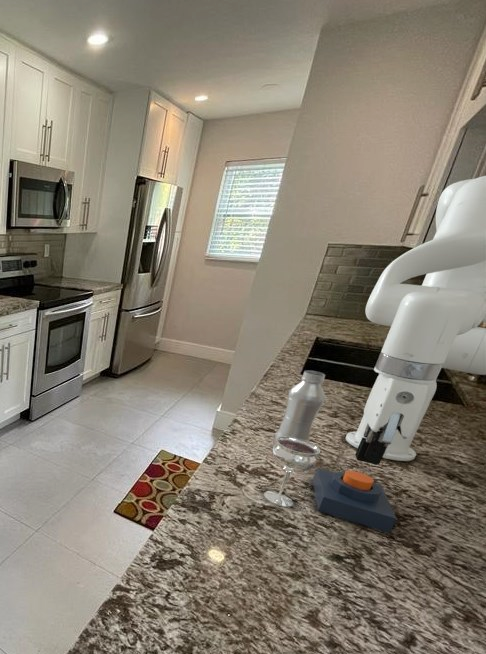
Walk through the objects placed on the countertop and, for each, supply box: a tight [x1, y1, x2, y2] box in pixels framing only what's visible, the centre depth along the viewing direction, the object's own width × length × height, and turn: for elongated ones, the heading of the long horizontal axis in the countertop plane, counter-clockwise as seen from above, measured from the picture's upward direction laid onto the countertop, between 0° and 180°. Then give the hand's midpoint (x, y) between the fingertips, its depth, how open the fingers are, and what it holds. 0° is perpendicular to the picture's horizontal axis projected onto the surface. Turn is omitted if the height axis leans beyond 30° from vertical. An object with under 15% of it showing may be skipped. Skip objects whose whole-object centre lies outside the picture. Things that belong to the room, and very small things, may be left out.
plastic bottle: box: [272, 369, 326, 446], centre depth 93 cm, size 6×7×20 cm
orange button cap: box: [343, 470, 375, 490], centre depth 77 cm, size 4×4×2 cm
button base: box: [312, 467, 397, 534], centre depth 78 cm, size 12×10×5 cm
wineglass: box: [263, 436, 321, 507], centre depth 77 cm, size 7×7×12 cm
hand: (366, 460), depth 76 cm, fingers closed
